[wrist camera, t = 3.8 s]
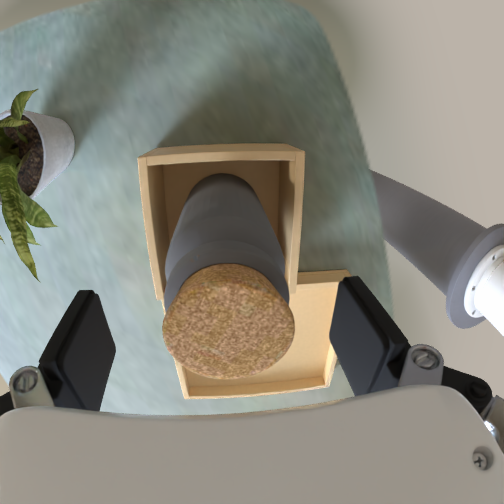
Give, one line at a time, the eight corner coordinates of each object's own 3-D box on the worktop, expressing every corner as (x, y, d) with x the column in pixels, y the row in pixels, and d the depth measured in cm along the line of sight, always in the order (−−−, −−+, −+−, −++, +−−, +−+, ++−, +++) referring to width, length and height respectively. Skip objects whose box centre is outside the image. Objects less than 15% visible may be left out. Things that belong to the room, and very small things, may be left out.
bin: (286, 143, 22) (305, 151, 17) (282, 260, 27) (296, 293, 22) (155, 148, 21) (137, 157, 16) (166, 265, 26) (156, 300, 21)
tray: (347, 269, 28) (355, 280, 26) (324, 374, 34) (329, 387, 32) (163, 278, 26) (159, 290, 24) (185, 385, 33) (184, 399, 31)
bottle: (273, 209, 24) (340, 332, 11) (221, 255, 25) (228, 405, 12) (224, 156, 22) (232, 225, 8) (170, 208, 23) (114, 335, 10)
